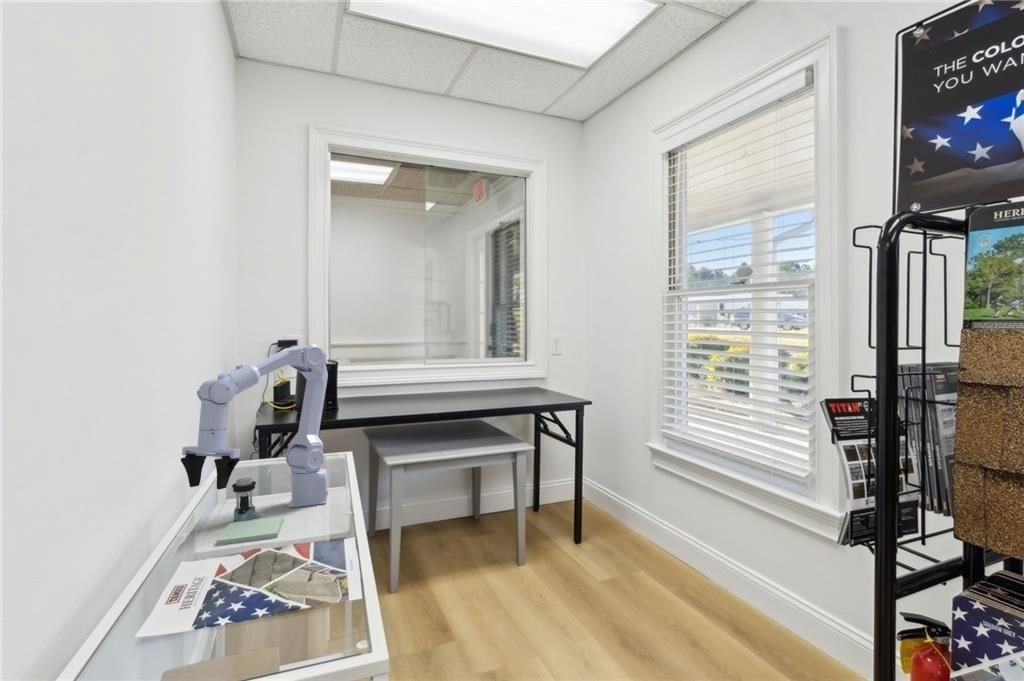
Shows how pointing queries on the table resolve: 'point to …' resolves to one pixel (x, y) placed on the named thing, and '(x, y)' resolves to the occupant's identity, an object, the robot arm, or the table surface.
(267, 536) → the sage board
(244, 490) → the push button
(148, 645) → the table surface
